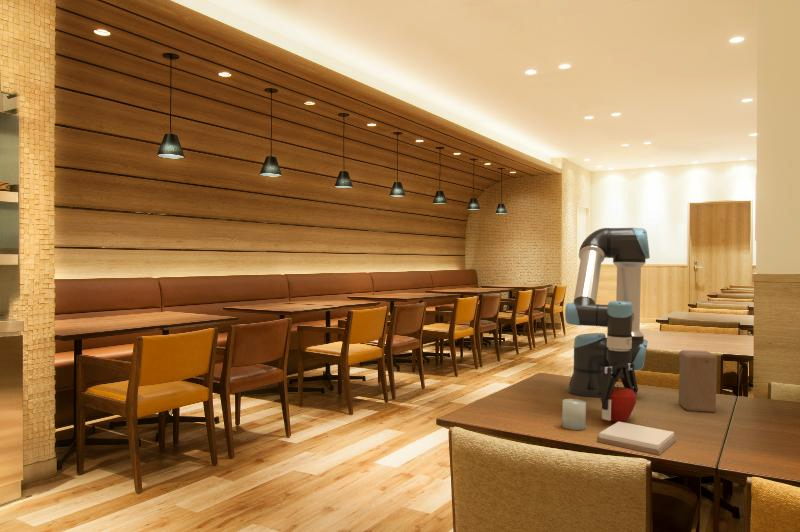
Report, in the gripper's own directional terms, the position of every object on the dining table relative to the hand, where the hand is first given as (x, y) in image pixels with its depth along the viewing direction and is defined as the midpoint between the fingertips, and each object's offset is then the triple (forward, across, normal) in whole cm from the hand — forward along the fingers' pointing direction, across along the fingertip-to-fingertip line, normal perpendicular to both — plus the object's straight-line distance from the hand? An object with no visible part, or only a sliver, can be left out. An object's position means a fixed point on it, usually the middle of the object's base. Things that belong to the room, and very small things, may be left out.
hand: (617, 416), depth 188 cm
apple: (+2, 0, 0) cm, 2 cm away
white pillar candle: (+2, -17, +4) cm, 18 cm away
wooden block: (+2, +40, -5) cm, 40 cm away
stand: (+2, -13, -15) cm, 20 cm away
